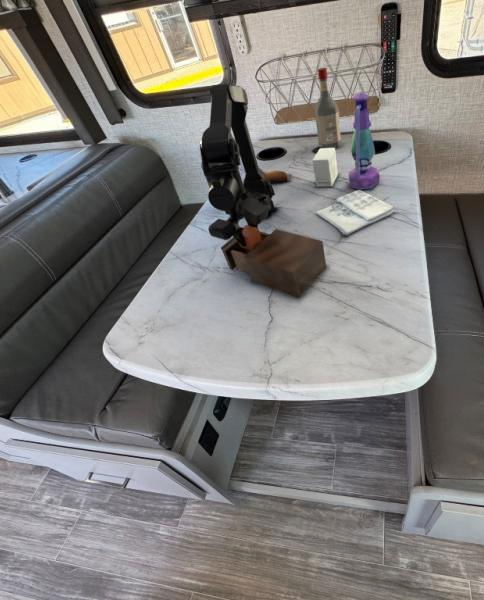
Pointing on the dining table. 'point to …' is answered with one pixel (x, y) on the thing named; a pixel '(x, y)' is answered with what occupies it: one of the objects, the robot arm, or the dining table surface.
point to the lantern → (362, 147)
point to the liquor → (327, 115)
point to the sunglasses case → (276, 176)
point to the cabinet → (286, 262)
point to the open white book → (355, 211)
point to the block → (251, 237)
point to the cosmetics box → (325, 167)
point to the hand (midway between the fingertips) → (250, 241)
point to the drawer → (237, 253)
